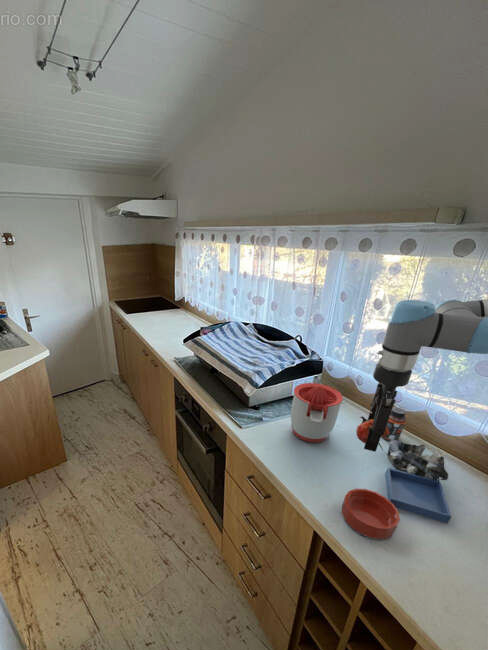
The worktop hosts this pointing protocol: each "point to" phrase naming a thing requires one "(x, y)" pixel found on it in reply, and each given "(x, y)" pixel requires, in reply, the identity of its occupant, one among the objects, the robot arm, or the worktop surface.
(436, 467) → the foil
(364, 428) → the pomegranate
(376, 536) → the red bowl
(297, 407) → the citrus juicer
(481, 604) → the worktop surface
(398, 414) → the supplement bottle
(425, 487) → the blue tray
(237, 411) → the worktop surface
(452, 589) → the worktop surface
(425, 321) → the robot arm
